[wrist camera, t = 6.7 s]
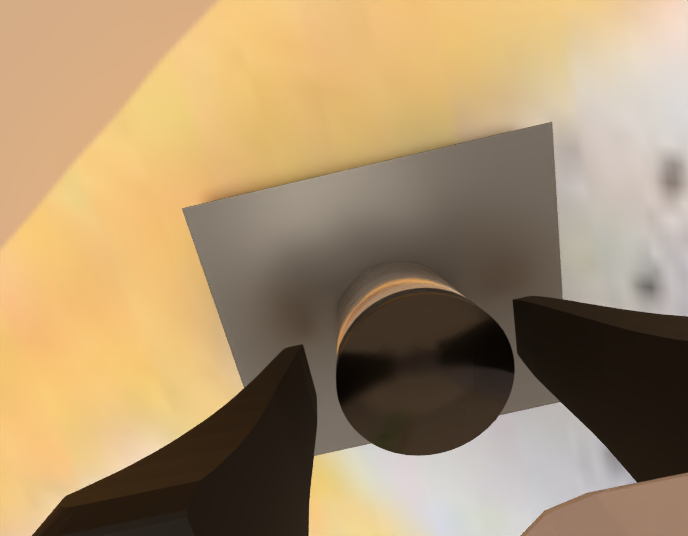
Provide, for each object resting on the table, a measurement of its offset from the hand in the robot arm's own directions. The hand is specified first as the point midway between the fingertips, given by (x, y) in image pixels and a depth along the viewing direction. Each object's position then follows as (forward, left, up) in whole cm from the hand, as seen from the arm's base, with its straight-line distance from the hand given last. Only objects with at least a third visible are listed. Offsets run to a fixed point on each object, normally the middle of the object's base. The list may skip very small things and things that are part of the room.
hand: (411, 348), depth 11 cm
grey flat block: (0, 0, -6) cm, 6 cm away
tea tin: (0, 0, -3) cm, 3 cm away
